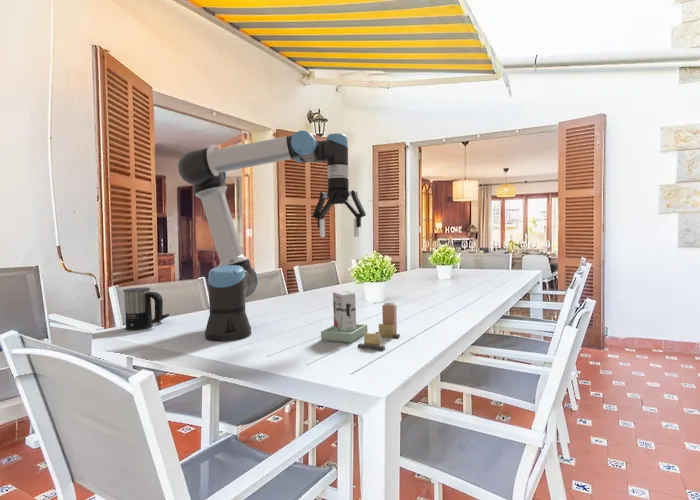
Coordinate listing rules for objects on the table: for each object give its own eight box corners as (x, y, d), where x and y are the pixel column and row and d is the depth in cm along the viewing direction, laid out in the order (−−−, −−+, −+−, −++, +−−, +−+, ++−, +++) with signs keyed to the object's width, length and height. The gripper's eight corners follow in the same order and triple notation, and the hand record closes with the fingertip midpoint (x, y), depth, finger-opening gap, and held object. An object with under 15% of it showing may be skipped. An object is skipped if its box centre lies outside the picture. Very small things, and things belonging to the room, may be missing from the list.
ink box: (333, 326, 143) (332, 291, 143) (346, 324, 145) (346, 290, 145) (342, 331, 136) (341, 294, 135) (356, 329, 137) (356, 293, 137)
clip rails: (364, 347, 128) (364, 333, 128) (379, 336, 140) (379, 323, 140) (380, 348, 126) (379, 334, 126) (394, 337, 138) (393, 325, 138)
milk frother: (121, 331, 154) (119, 290, 153) (133, 322, 169) (132, 285, 169) (163, 329, 157) (162, 289, 156) (171, 320, 172) (170, 283, 172)
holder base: (357, 347, 127) (357, 344, 127) (376, 335, 142) (376, 332, 142) (383, 350, 124) (383, 347, 124) (399, 337, 139) (399, 334, 139)
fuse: (382, 335, 142) (382, 303, 141) (385, 333, 144) (384, 301, 144) (394, 336, 140) (393, 303, 140) (396, 334, 143) (396, 302, 142)
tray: (321, 340, 136) (321, 331, 136) (339, 331, 149) (339, 322, 149) (351, 343, 132) (351, 333, 132) (367, 333, 145) (367, 324, 145)
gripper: (302, 179, 156) (304, 237, 157) (366, 174, 146) (367, 236, 147) (312, 181, 162) (313, 236, 163) (374, 176, 152) (374, 236, 153)
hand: (339, 236), depth 155 cm, fingers open, 13 cm apart
